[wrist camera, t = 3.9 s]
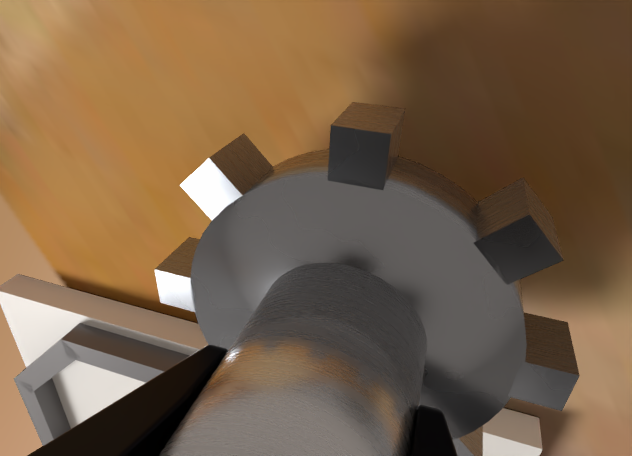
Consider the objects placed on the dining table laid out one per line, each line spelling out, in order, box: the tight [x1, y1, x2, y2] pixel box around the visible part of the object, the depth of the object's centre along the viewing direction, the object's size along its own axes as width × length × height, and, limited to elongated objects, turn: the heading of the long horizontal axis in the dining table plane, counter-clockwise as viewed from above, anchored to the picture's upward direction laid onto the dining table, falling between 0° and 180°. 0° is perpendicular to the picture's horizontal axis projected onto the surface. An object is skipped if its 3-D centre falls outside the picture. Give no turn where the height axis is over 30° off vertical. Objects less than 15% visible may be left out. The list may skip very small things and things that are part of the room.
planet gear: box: [155, 102, 579, 456], centre depth 8 cm, size 9×9×6 cm
